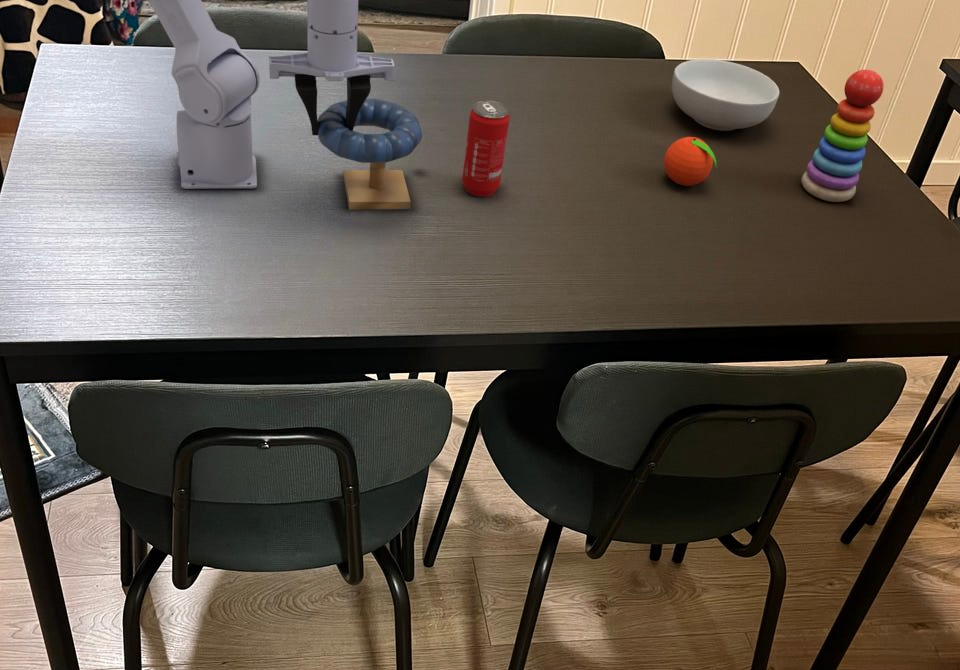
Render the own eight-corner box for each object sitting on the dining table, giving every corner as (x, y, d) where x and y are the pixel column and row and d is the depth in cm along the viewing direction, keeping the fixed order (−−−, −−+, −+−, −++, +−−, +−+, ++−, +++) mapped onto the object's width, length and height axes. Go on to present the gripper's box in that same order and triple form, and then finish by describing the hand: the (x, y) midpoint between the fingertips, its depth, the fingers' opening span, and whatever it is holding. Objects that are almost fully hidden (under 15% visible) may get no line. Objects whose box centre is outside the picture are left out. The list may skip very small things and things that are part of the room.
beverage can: (471, 201, 129) (482, 120, 122) (455, 181, 133) (464, 102, 125) (505, 195, 131) (517, 115, 124) (488, 176, 135) (499, 97, 127)
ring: (321, 168, 114) (321, 142, 112) (313, 117, 123) (313, 93, 121) (427, 167, 117) (429, 142, 115) (412, 118, 126) (413, 94, 124)
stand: (348, 209, 124) (350, 160, 120) (343, 177, 130) (344, 129, 126) (410, 209, 126) (413, 161, 121) (401, 177, 132) (405, 130, 127)
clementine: (721, 188, 140) (734, 145, 135) (694, 203, 136) (708, 159, 131) (676, 165, 144) (688, 122, 139) (649, 179, 140) (661, 135, 135)
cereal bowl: (780, 120, 160) (794, 81, 156) (745, 156, 149) (759, 114, 144) (688, 86, 166) (699, 48, 162) (647, 118, 155) (658, 77, 150)
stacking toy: (856, 187, 145) (905, 71, 133) (848, 210, 139) (899, 91, 127) (805, 171, 147) (848, 55, 135) (795, 193, 141) (839, 74, 130)
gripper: (268, 37, 105) (272, 147, 114) (399, 40, 108) (394, 147, 117) (267, 12, 110) (270, 119, 119) (392, 16, 113) (387, 120, 122)
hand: (331, 131), depth 118 cm, fingers closed on ring, 3 cm apart
